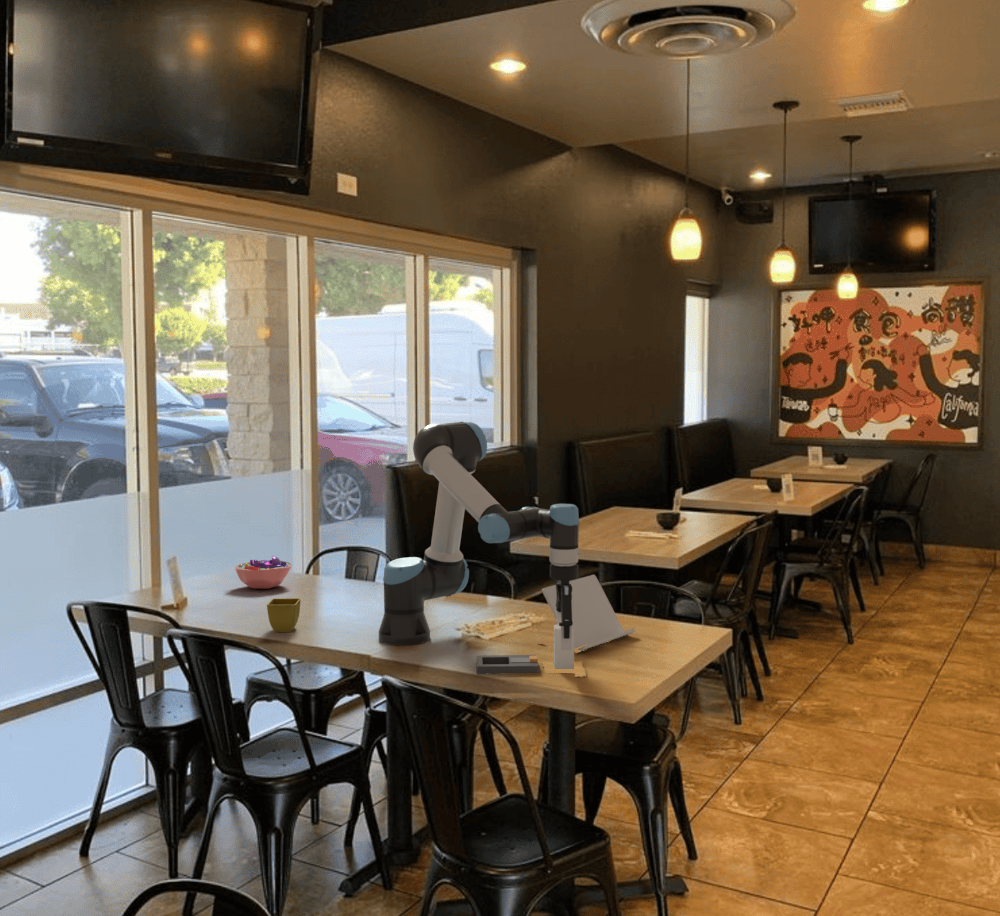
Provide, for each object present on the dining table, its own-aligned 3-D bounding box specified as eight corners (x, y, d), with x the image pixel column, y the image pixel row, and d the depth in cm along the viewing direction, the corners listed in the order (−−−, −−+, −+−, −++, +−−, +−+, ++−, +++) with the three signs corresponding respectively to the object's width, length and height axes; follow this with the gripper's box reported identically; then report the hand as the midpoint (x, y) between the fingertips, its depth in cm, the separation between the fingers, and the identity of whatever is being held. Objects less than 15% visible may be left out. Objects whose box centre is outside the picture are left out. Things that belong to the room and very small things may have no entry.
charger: (554, 669, 278) (554, 626, 276) (553, 664, 282) (553, 622, 281) (573, 669, 278) (574, 626, 276) (572, 664, 282) (572, 622, 281)
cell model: (235, 584, 384) (234, 553, 383) (291, 581, 389) (290, 551, 388) (235, 594, 368) (234, 562, 367) (293, 591, 373) (293, 559, 372)
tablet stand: (535, 644, 306) (535, 587, 304) (587, 627, 324) (587, 573, 323) (586, 656, 294) (586, 596, 292) (636, 638, 313) (637, 581, 311)
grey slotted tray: (477, 677, 274) (476, 663, 274) (476, 666, 284) (476, 652, 284) (538, 677, 275) (538, 662, 274) (536, 665, 285) (536, 651, 284)
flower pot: (273, 626, 325) (272, 597, 324) (301, 626, 326) (300, 597, 325) (267, 634, 317) (266, 604, 316) (296, 634, 317) (295, 604, 316)
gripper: (583, 573, 265) (583, 656, 267) (573, 554, 289) (573, 630, 292) (553, 573, 264) (553, 656, 267) (546, 554, 289) (546, 630, 291)
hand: (563, 642), depth 279 cm, fingers open, 13 cm apart
